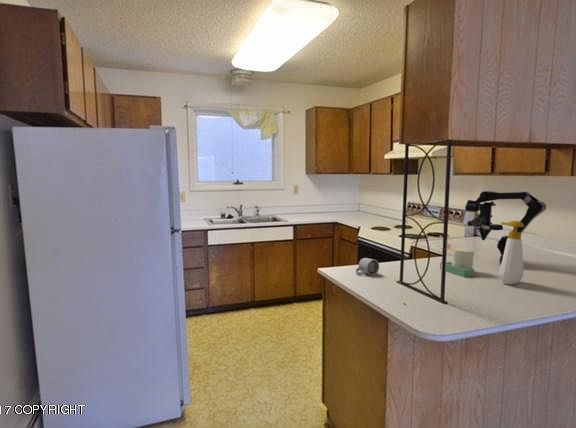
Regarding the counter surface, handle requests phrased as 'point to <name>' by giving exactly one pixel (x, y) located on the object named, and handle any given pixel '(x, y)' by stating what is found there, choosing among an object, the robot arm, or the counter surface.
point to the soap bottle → (512, 256)
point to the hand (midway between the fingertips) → (483, 240)
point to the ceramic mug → (368, 266)
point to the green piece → (458, 270)
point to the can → (463, 258)
